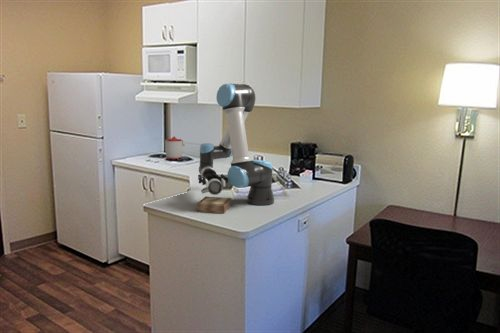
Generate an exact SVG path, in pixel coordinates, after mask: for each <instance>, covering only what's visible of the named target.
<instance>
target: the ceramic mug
mask: <svg viewBox="0 0 500 333" xmlns="http://www.w3.org/2000/svg"><path fill="white" fill-rule="evenodd" d="M223 187H224V186H223V185H222V183H221V182H220V180H218V179H216V178H213V179H211V180H210V181H209V182H208V187H207V186H206V187H204V188H202V189H201V190H200V191H201V194H207V193H209V194H210V195H213V196H217V195H219V194H221V193H222V191H223Z"/></svg>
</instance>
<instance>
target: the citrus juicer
mask: <svg viewBox="0 0 500 333" xmlns="http://www.w3.org/2000/svg"><path fill="white" fill-rule="evenodd" d="M164 145H165V146H164V149H165V156H166V157H165V158H166V159H167V158H168V159H167V160H169V159H179V158H181V159H182V157H183V153H184V150H183V149H184V147H185V146H186V144H184V140H183V139H181V138H177V137H175V136H172V137H171V138H169V139H168V138H166V139H164ZM179 160H180V159H179Z"/></svg>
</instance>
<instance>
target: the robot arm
mask: <svg viewBox="0 0 500 333" xmlns="http://www.w3.org/2000/svg"><path fill="white" fill-rule="evenodd" d="M216 102H217V105H219V107H222V112H223V113H224V114H225V115H226V120H227V127H226V129H225V131H224V134H223V136H222V137H221V140H220V142H219V144H218V145H217V146H216V145H215V146H214V144H213V143H208V142H207V143H201V144H200V146H199V167H198V172H199V174H198V175H197V176H198V177H197V180H198V184H202V185H203V186H206V187H208V182H209V181H210V180H211V179H213V178H216V179H218V180H220V182H221V183H222V186H223V187H226V184H227V183H230V184H231V185H232V186H233V187H234V188H238V189H242V188H243V189H244V188H245V189H246V188H247V187H249V191H248V194H247V197H246V202H247V203H248V204H249V205H254V206H270V205H273V204H274V203H275V197H274V192H273V190H272V189H273V186H272V183H273V164H272V162H271V161H268V160H260V159H252V158H251V157H250V153H249V146H248V140H247V139H248V138H247V132H246V125H245V121H246V120H247V117H248V115H249V114H250V113H252V112H253V110H254V107H255V104H256V93H255V90H254V88H252V87H251V86H250V85H248V84H245V83H244V84H243V83H231V82H230V83H224V84H222V85H221V86H220V87H219V88H218V90H217V93H216ZM231 157H232V161H230V167H229V168H228V171H227V176H225V175H224V174H223V173H222V174H220V175H219V174H217V172H216V170H215V169H214V160H220V159H228V158H231Z"/></svg>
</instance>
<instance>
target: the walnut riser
mask: <svg viewBox="0 0 500 333" xmlns="http://www.w3.org/2000/svg"><path fill="white" fill-rule="evenodd" d="M231 206H232V198H230V197H219V196H217V197H216V196H204V197H203V198H202V199H201V200H200V201H198V202H197V203H196V212H200V213H212V214H226V213H227V211H228V210H229V208H231Z"/></svg>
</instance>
